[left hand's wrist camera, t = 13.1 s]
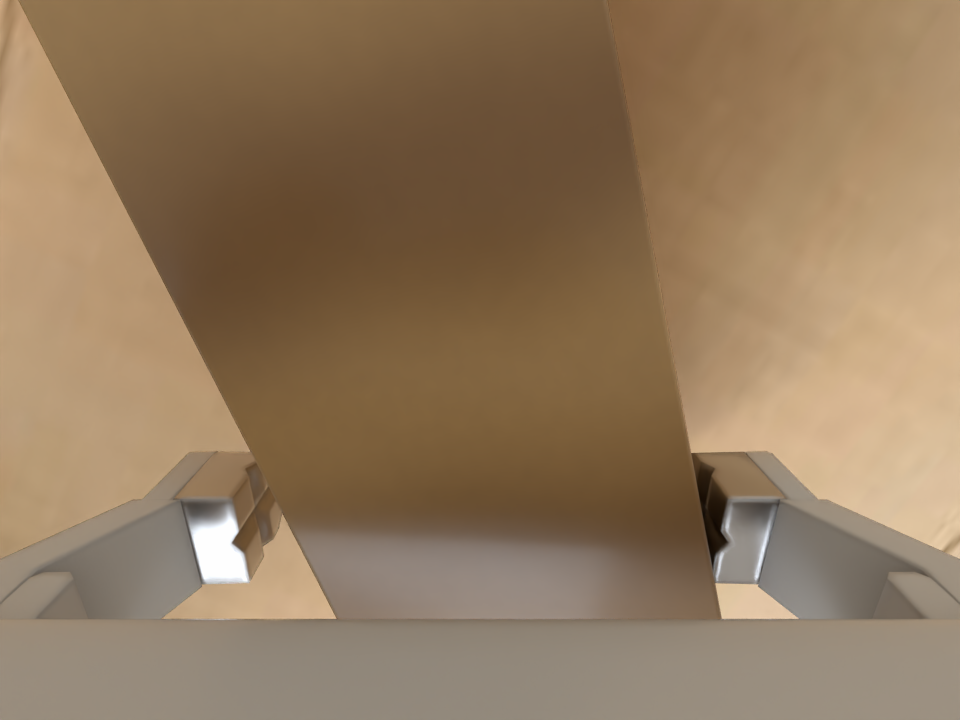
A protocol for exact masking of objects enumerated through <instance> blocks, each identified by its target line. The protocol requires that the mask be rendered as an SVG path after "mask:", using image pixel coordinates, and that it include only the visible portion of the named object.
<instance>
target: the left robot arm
mask: <svg viewBox="0 0 960 720" xmlns="http://www.w3.org/2000/svg"><path fill="white" fill-rule="evenodd" d="M691 455H692V460H693V466H694V471H695V477H696V482H697V487H698V493H699V498H700V504H701V509H702V515H703V520H704V525H705V531H706V536H707V542H708V547H709V552H710V558H711V563H712V569H713V574H714V580H715V583H732V584H759V585H758V587H760V588H761V589H762V590H763V591H765V592H766V593H767V594H768V595H770V596H771V597H772V598H774V599H775V600H776V601H777V602H779V603H780V604H781V605H782V606H784V607H785V608H786V609H788V610H789V611H790V612H791V613H793V614H794V615H795V616H796V617H798V618H799V619H161V618H163V617H164V616H165V615H166V614H168V613H169V612H170V611H171V610H173V609H174V608H175V607H177V606H178V605H179V604H180V603H182V602H183V601H184V600H185V599H187V598H188V597H189V596H191V595H192V594H193V593H194V592H196V591H197V590H198V589H199V588H201V587H202V584H227V583H250V581H251V579H252V577H253V575H254V574H255V572H256V570H257V568H258V566H259V565H260V563H261V561H262V559H263V557H264V553H263V547H262V546H264V545H265V544H267V543H268V542H270V541H271V540H273V539H274V537H275V535H276V533H277V531H278V529H279V525H280V521H281V516H282V511H281V509H280V507H279V506H278V504H277V502H276V500H275V498H274V496H273V494H272V492H271V490H270V488H269V486H268V484H267V482H266V480H265V478H264V476H263V474H262V472H261V471H260V469H259V467H258V465H257V463H256V461H255V459H254V457H253V455H252V453H251V452H218V451H196V452H190V453H188V454H187V455H186V456H185V457H184V458H183V459H182V460H181V461H180V462H179V463H178V464H177V465H176V466H175V467H174V468H173V469H172V470H171V471H170V472H169V473H168V474H167V475H166V476H165V477H164V478H163V479H162V480H161V481H160V482H159V483H158V484H157V485H156V486H155V487H154V488H153V489H152V490H151V491H150V492H149V493H148V494H147V495H146V496H145V497H144V498H143V499H142V500H131V501H129V502H127V503H125V504H123V505H120V506H118V507H116V508H114V509H111V510H109V511H107V512H105V513H102V514H100V515H98V516H96V517H93V518H91V519H89V520H87V521H84V522H82V523H80V524H78V525H75V526H73V527H71V528H69V529H66V530H64V531H62V532H60V533H57V534H55V535H53V536H51V537H48V538H46V539H44V540H42V541H40V542H37V543H35V544H33V545H31V546H28V547H26V548H24V549H22V550H19V551H17V552H15V553H13V554H10V555H8V556H6V557H4V558H1V559H0V720H960V559H958V558H956V557H954V556H952V555H949V554H947V553H945V552H943V551H940V550H938V549H936V548H934V547H932V546H929V545H927V544H925V543H923V542H920V541H918V540H916V539H914V538H911V537H909V536H907V535H905V534H902V533H900V532H898V531H896V530H894V529H891V528H889V527H887V526H885V525H882V524H880V523H878V522H876V521H873V520H871V519H869V518H867V517H864V516H862V515H860V514H858V513H855V512H853V511H851V510H849V509H847V508H844V507H842V506H840V505H838V504H835V503H833V502H831V501H829V500H818V499H817V498H816V497H815V496H814V495H813V494H812V493H811V492H810V491H809V490H808V489H807V488H806V487H805V486H804V485H803V484H802V483H801V482H800V481H799V480H798V479H797V478H796V477H795V476H794V475H793V474H792V473H791V472H790V471H789V470H788V469H787V468H786V467H785V466H784V465H783V464H782V463H781V462H780V461H779V460H778V459H777V458H776V457H775V456H774V455H773V454H772V453H770V452H767V451H750V452H717V453H691Z"/></svg>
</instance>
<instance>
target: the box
mask: <svg viewBox="0 0 960 720" xmlns="http://www.w3.org/2000/svg"><path fill="white" fill-rule="evenodd" d="M19 2H20V4H21V6H22V8H23V10H24V12H25V14H26V16H27V18H28V20H29V22H30V24H31V26H32V28H33V30H34V31H35V33H36V35H37V37H38V39H39V41H40V43H41V45H42V47H43V49H44V51H45V53H46V55H47V57H48V59H49V61H50V63H51V64H52V66H53V68H54V70H55V72H56V74H57V76H58V78H59V80H60V82H61V84H62V86H63V88H64V90H65V92H66V94H67V96H68V98H69V99H70V101H71V103H72V105H73V107H74V109H75V111H76V113H77V115H78V117H79V119H80V121H81V123H82V125H83V127H84V129H85V131H86V132H87V134H88V136H89V138H90V140H91V142H92V144H93V146H94V148H95V150H96V152H97V154H98V156H99V158H100V160H101V162H102V164H103V166H104V167H105V169H106V171H107V173H108V175H109V177H110V179H111V181H112V183H113V185H114V187H115V189H116V191H117V193H118V195H119V197H120V199H121V200H122V202H123V204H124V206H125V208H126V210H127V212H128V214H129V216H130V218H131V220H132V222H133V224H134V226H135V228H136V230H137V232H138V234H139V235H140V237H141V239H142V241H143V243H144V245H145V247H146V249H147V251H148V253H149V255H150V257H151V259H152V261H153V263H154V265H155V267H156V268H157V270H158V272H159V274H160V276H161V278H162V280H163V282H164V284H165V286H166V288H167V290H168V292H169V294H170V296H171V298H172V300H173V302H174V303H175V305H176V307H177V309H178V311H179V313H180V315H181V317H182V319H183V321H184V323H185V325H186V327H187V329H188V331H189V333H190V335H191V336H192V338H193V340H194V342H195V344H196V346H197V348H198V350H199V352H200V354H201V356H202V358H203V360H204V362H205V364H206V366H207V368H208V370H209V371H210V373H211V375H212V377H213V379H214V381H215V383H216V385H217V387H218V389H219V391H220V393H221V395H222V397H223V399H224V401H225V403H226V404H227V406H228V408H229V410H230V412H231V414H232V416H233V418H234V420H235V422H236V424H237V426H238V428H239V430H240V432H241V434H242V436H243V438H244V439H245V441H246V443H247V445H248V447H249V449H250V451H251V453H252V455H253V457H254V459H255V461H256V463H257V465H258V467H259V469H260V471H261V472H262V474H263V476H264V478H265V480H266V482H267V484H268V486H269V488H270V490H271V492H272V494H273V496H274V498H275V500H276V502H277V504H278V506H279V507H280V509H281V511H282V513H283V515H284V517H285V519H286V521H287V523H288V525H289V527H290V529H291V531H292V533H293V535H294V537H295V539H296V540H297V542H298V544H299V546H300V548H301V550H302V552H303V554H304V556H305V558H306V560H307V562H308V564H309V566H310V568H311V570H312V572H313V574H314V575H315V577H316V579H317V581H318V583H319V585H320V587H321V589H322V591H323V593H324V595H325V597H326V599H327V601H328V603H329V605H330V607H331V608H332V610H333V612H334V614H335V616H336V618H337V619H722V618H721V612H720V607H719V601H718V596H717V590H716V585H715V580H714V574H713V569H712V563H711V558H710V552H709V547H708V542H707V536H706V531H705V525H704V520H703V515H702V509H701V504H700V498H699V493H698V487H697V482H696V477H695V471H694V466H693V460H692V455H691V450H690V444H689V439H688V433H687V428H686V422H685V417H684V412H683V406H682V401H681V395H680V390H679V384H678V379H677V374H676V368H675V363H674V357H673V352H672V347H671V341H670V336H669V330H668V325H667V319H666V314H665V309H664V303H663V298H662V292H661V287H660V282H659V276H658V271H657V265H656V260H655V254H654V249H653V244H652V238H651V233H650V227H649V222H648V216H647V211H646V206H645V200H644V195H643V189H642V184H641V179H640V173H639V168H638V162H637V157H636V151H635V146H634V141H633V135H632V130H631V124H630V119H629V113H628V108H627V103H626V97H625V92H624V86H623V81H622V76H621V70H620V65H619V59H618V54H617V48H616V43H615V38H614V32H613V27H612V21H611V16H610V11H609V5H608V0H19Z"/></svg>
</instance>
